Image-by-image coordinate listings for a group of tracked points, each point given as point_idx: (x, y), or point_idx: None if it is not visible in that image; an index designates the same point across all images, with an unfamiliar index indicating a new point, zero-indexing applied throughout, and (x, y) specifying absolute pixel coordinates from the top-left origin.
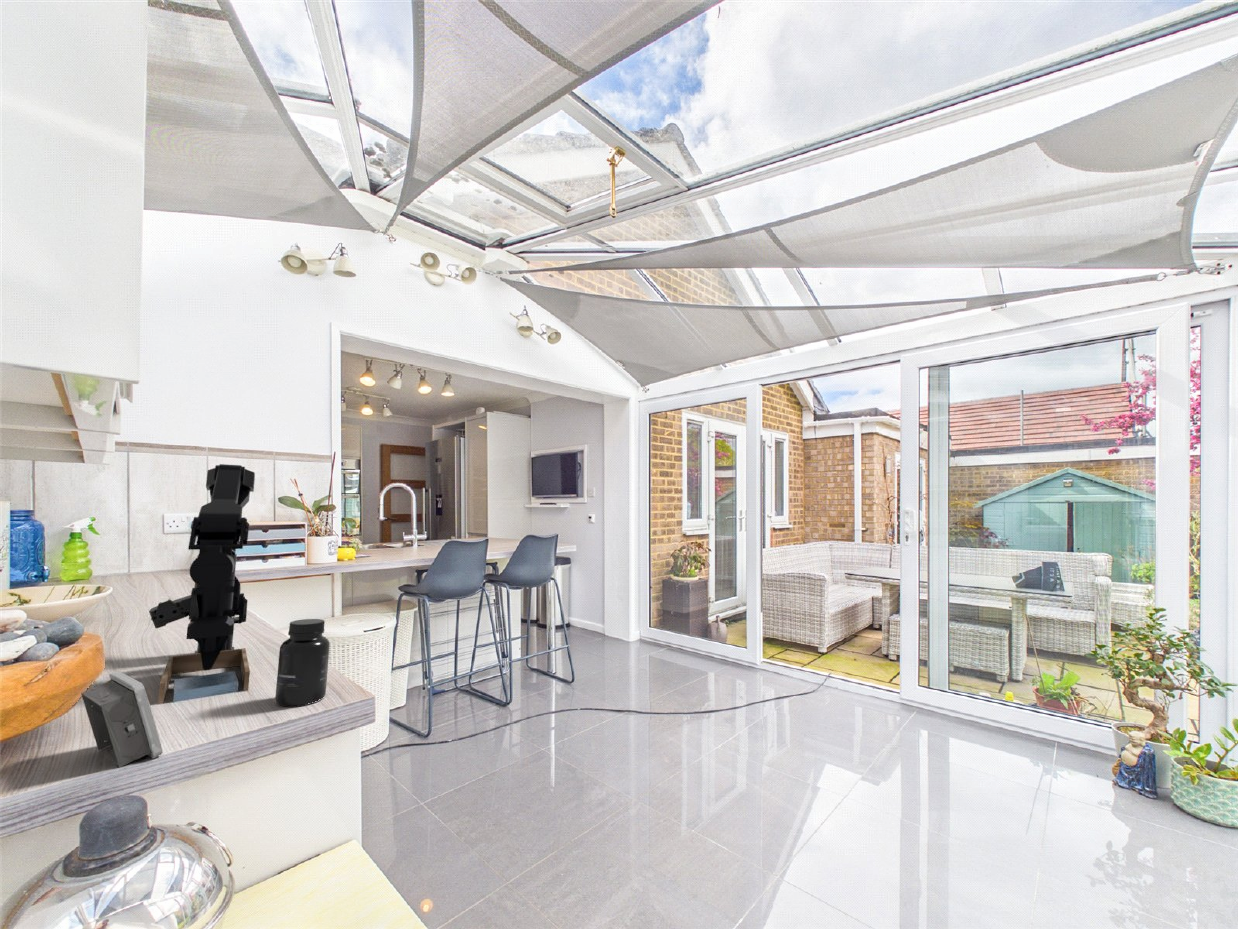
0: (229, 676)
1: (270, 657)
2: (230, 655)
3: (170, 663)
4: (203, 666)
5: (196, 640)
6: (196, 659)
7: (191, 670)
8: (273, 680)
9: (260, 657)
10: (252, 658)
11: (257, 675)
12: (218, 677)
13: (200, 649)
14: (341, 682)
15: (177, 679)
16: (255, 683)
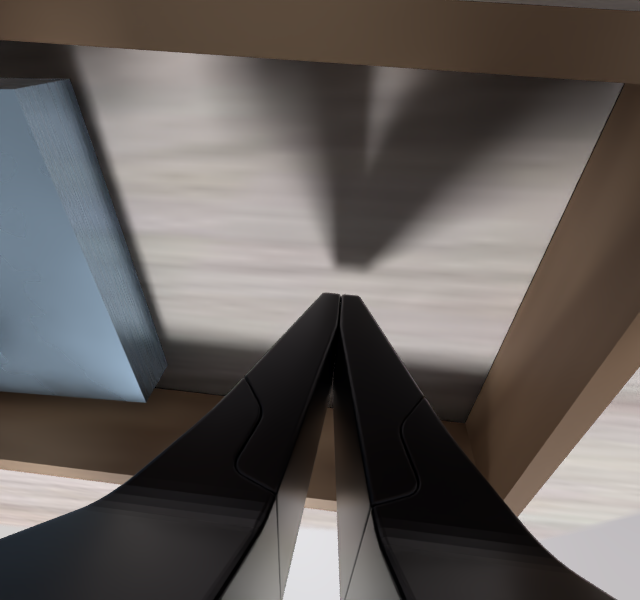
0: (18, 373)
1: (525, 508)
2: (499, 454)
3: (311, 50)
4: (309, 309)
5: (30, 532)
6: (595, 298)
7: (567, 222)
8: None
9: (571, 491)
10: (587, 473)
11: None
12: (7, 335)
13: (211, 414)
14: (16, 522)
15: (9, 115)
16: None
